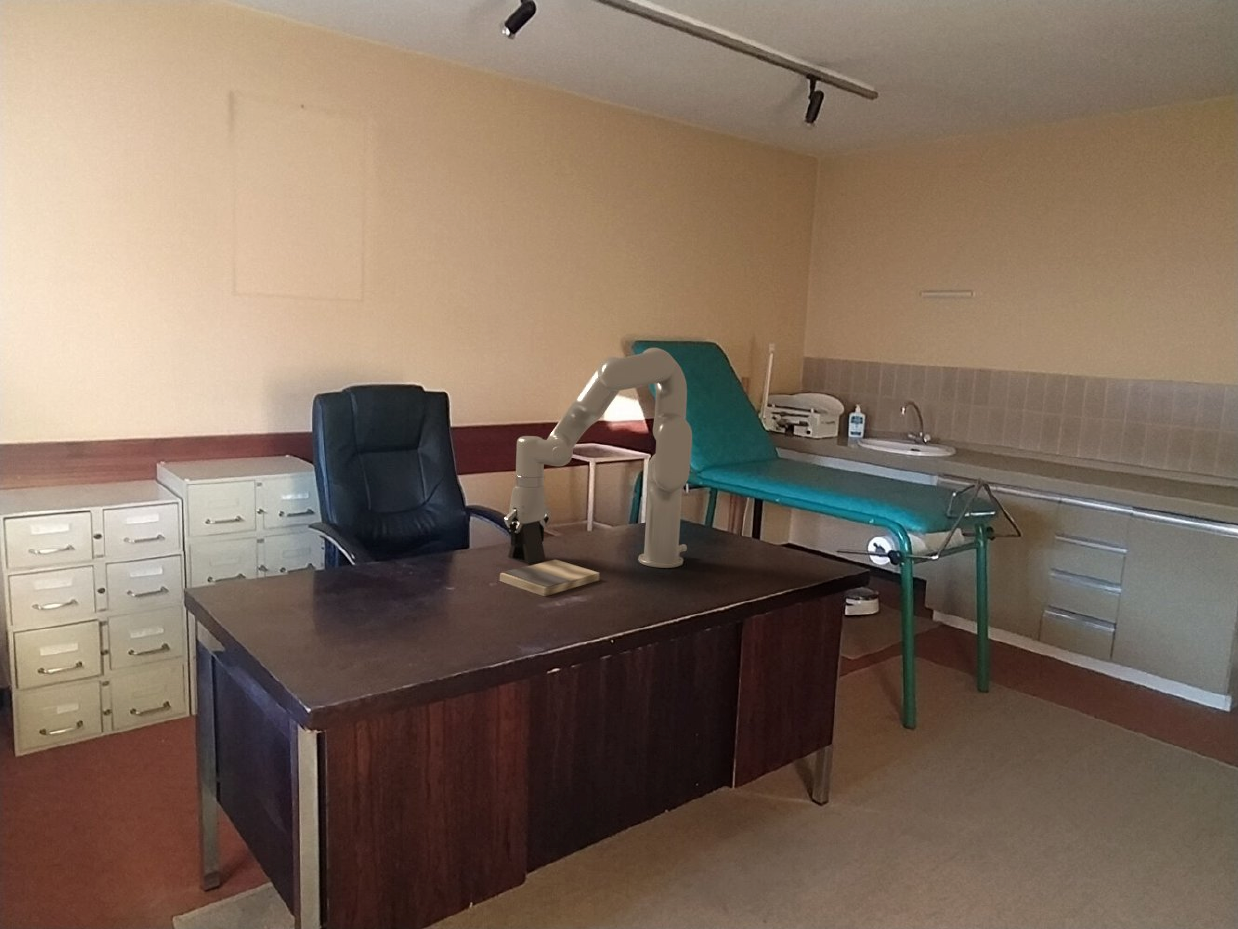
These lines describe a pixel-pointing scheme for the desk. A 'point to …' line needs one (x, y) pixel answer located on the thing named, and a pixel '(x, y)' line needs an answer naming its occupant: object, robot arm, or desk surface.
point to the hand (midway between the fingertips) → (527, 543)
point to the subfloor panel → (549, 577)
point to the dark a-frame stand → (529, 545)
